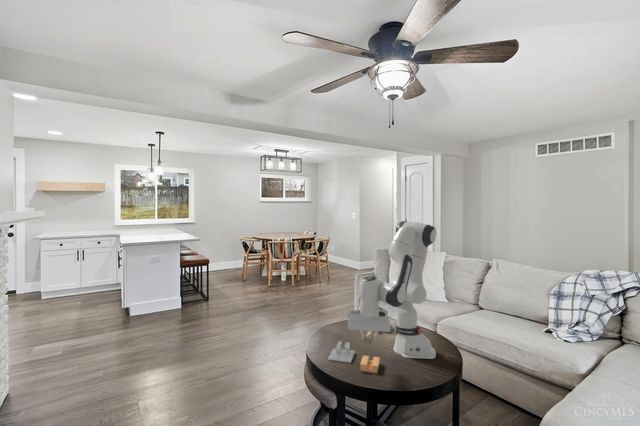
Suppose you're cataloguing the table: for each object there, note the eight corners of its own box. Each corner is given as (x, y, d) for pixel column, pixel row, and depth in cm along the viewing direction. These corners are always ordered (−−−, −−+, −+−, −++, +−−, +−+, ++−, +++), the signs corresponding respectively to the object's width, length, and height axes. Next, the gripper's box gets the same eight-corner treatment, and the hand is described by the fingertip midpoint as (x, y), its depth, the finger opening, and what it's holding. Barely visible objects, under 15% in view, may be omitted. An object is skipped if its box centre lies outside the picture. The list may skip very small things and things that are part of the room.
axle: (368, 333, 166) (368, 327, 166) (375, 334, 165) (374, 327, 165) (364, 344, 153) (364, 337, 153) (371, 344, 152) (371, 337, 152)
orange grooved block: (379, 365, 163) (379, 357, 163) (377, 374, 154) (377, 366, 154) (363, 363, 166) (363, 355, 166) (360, 372, 156) (360, 364, 156)
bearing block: (354, 354, 176) (354, 343, 176) (350, 364, 164) (350, 352, 164) (333, 351, 179) (333, 340, 179) (328, 361, 168) (328, 349, 168)
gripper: (347, 311, 153) (347, 341, 153) (391, 313, 151) (390, 343, 151) (347, 308, 160) (347, 336, 160) (389, 309, 158) (389, 338, 157)
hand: (368, 339), depth 155 cm, fingers closed on axle, 3 cm apart
